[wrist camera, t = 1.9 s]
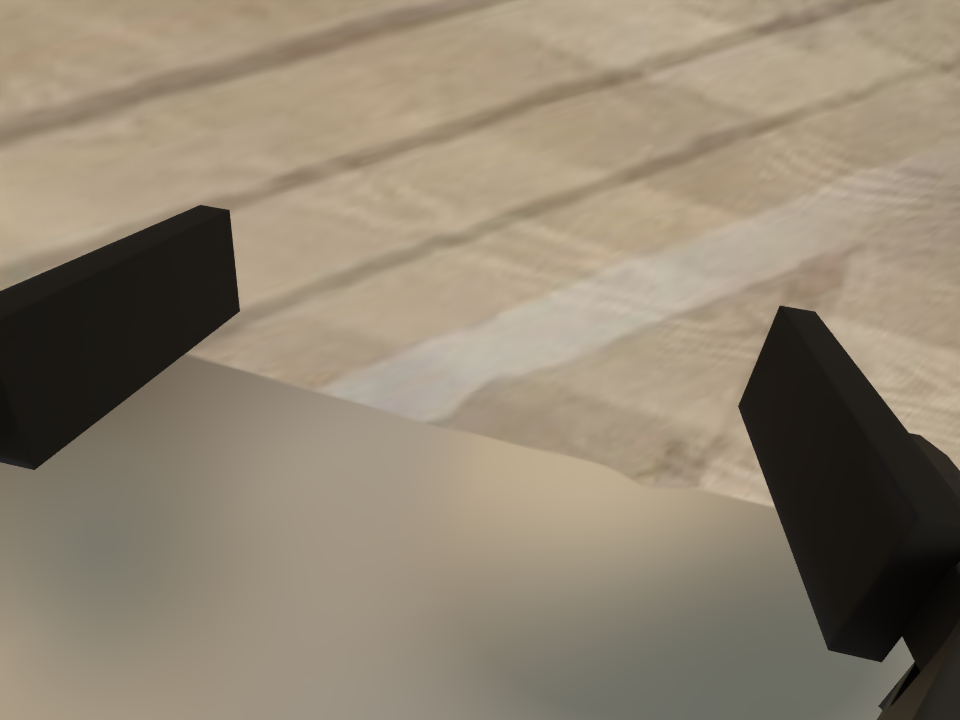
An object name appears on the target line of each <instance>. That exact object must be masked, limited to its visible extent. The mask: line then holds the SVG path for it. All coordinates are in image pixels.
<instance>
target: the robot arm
mask: <svg viewBox="0 0 960 720" xmlns="http://www.w3.org/2000/svg"><path fill="white" fill-rule="evenodd" d="M238 312H240V308H239V298H238V288H237V278H236V269H235V259H234V249H233V239H232V230H231V220H230V210H226V209H220V208H214V207H209V206H203V205H199V206H197V207H195V208H192V209H190V210H188V211H185V212H183V213H181V214H178V215H176V216H174V217H172V218H169V219H167V220H165V221H162V222H160V223H158V224H155V225H153V226H151V227H148V228H146V229H144V230H141V231H139V232H137V233H134V234H132V235H130V236H127V237H125V238H123V239H120V240H118V241H116V242H113V243H111V244H109V245H106V246H104V247H102V248H100V249H97V250H95V251H93V252H90V253H88V254H86V255H83V256H81V257H79V258H76V259H74V260H72V261H69V262H67V263H65V264H62V265H60V266H58V267H55V268H53V269H51V270H48V271H46V272H44V273H41V274H39V275H37V276H35V277H32V278H30V279H28V280H25V281H23V282H21V283H18V284H16V285H14V286H11V287H9V288H7V289H4V290H2V291H0V462H2V463H6V464H11V465H15V466H19V467H24V468H28V469H32V470H35V469H36V468H38V467H39V466H40V465H42V464H43V463H44V462H45V461H47V460H48V459H49V458H51V457H52V456H53V455H55V454H56V453H57V452H58V451H60V450H61V449H62V448H63V447H65V446H66V445H67V444H68V443H70V442H71V441H73V440H74V439H75V438H76V437H78V436H79V435H80V434H81V433H83V432H84V431H86V430H87V429H88V428H89V427H90V426H92V425H93V424H95V423H96V422H97V421H98V420H100V419H101V418H102V417H104V416H105V415H106V414H108V413H109V412H110V411H111V410H113V409H114V408H115V407H117V406H118V405H119V404H120V403H122V402H123V401H124V400H126V399H127V398H128V397H130V396H131V395H132V394H133V393H135V392H136V391H137V390H139V389H140V388H141V387H143V386H144V385H145V384H146V383H148V382H149V381H150V380H152V379H153V378H154V377H155V376H157V375H158V374H159V373H161V372H162V371H163V370H164V369H166V368H167V367H168V366H170V365H171V364H172V363H173V362H175V361H176V360H177V359H179V358H180V357H181V356H182V355H184V354H185V353H187V352H188V351H189V350H190V349H192V348H193V347H194V346H196V345H197V344H198V343H199V342H201V341H202V340H203V339H205V338H206V337H207V336H209V335H210V334H211V333H212V332H214V331H215V330H216V329H218V328H219V327H220V326H221V325H223V324H224V323H225V322H227V321H228V320H229V319H231V318H232V317H233V316H234V315H236V314H237V313H238ZM738 407H739V410H740V413H741V415H742V418H743V421H744V423H745V426H746V429H747V432H748V434H749V437H750V440H751V442H752V445H753V448H754V450H755V453H756V456H757V459H758V461H759V464H760V467H761V469H762V472H763V475H764V478H765V480H766V483H767V486H768V488H769V491H770V494H771V496H772V499H773V502H774V505H775V507H776V510H777V512H778V515H779V518H780V520H781V524H782V526H783V529H784V531H785V534H786V537H787V539H788V542H789V545H790V548H791V551H792V553H793V556H794V559H795V561H796V564H797V567H798V570H799V572H800V575H801V577H802V580H803V583H804V585H805V588H806V591H807V594H808V597H809V599H810V602H811V605H812V607H813V610H814V613H815V615H816V618H817V621H818V624H819V626H820V629H821V632H822V634H823V637H824V640H825V643H826V645H827V648H828V650H830V651H834V652H839V653H843V654H848V655H852V656H856V657H861V658H865V659H869V660H874V661H878V662H882V661H883V660H884V659H885V657H886V656H887V655H888V653H889V652H890V651H891V650H892V648H893V647H894V646H895V644H896V643H897V642H898V641H899V639H900V638H901V637H903V638H904V641H905V643H906V645H907V647H908V648H909V651H910V653H911V655H912V657H913V659H914V660H915V662H914V664H912V666H911V667H910V668H909V669H908V671H907V672H906V673H905V674H904V676H903V677H902V678H901V679H900V681H899V682H898V683H897V684H896V685H895V686H894V688H893V689H892V690H891V691H890V693H889V694H888V695H887V696H886V698H885V699H884V700H883V701H882V702H881V704H880V705H879V707H880V708H881V709H882V712H881V714H880V716H879V717H878V719H877V720H960V471H959V469H958V468H957V467H956V466H955V465H954V463H953V462H952V461H951V460H950V458H949V457H948V456H947V455H946V454H944V453H943V452H942V451H940V450H939V449H938V448H936V447H935V446H934V445H932V444H931V443H930V442H928V441H927V440H926V439H924V438H923V437H922V436H920V435H916V434H911V433H908V431H907V430H906V429H905V428H904V426H903V425H902V424H901V422H900V421H899V420H898V418H897V417H896V416H895V415H894V413H893V412H892V411H891V409H890V408H889V407H888V405H887V404H886V403H885V402H884V400H883V399H882V398H881V396H880V395H879V394H878V393H877V391H876V390H875V389H874V387H873V386H872V385H871V383H870V382H869V381H868V380H867V378H866V377H865V376H864V374H863V373H862V372H861V370H860V369H859V368H858V367H857V365H856V364H855V363H854V361H853V360H852V359H851V358H850V356H849V355H848V354H847V352H846V351H845V350H844V348H843V347H842V346H841V345H840V343H839V342H838V341H837V339H836V338H835V337H834V335H833V334H832V333H831V332H830V330H829V329H828V328H827V326H826V325H825V324H824V322H823V321H822V320H821V319H820V317H819V316H818V315H817V313H816V312H814V311H808V310H802V309H797V308H791V307H785V306H779V309H778V311H777V314H776V316H775V318H774V321H773V323H772V326H771V328H770V331H769V333H768V335H767V338H766V340H765V343H764V345H763V348H762V350H761V352H760V355H759V357H758V360H757V362H756V365H755V367H754V369H753V372H752V374H751V377H750V379H749V381H748V384H747V386H746V389H745V391H744V394H743V396H742V398H741V401H740V403H739V406H738Z"/></svg>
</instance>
